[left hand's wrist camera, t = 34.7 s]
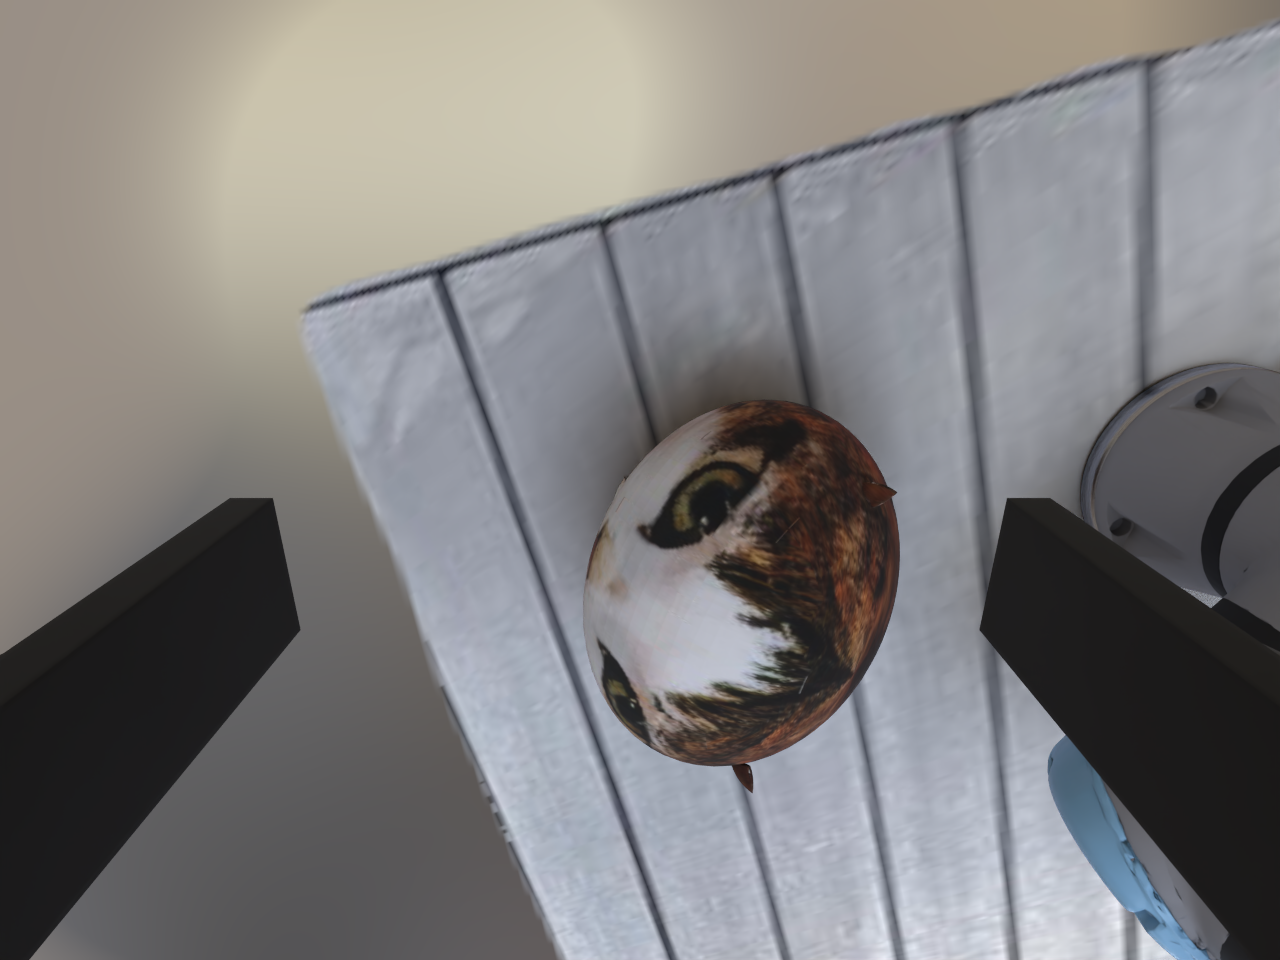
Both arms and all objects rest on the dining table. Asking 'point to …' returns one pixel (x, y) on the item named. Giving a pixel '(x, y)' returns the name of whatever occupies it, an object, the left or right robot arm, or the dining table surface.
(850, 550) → the cat face balloon
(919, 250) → the dining table surface
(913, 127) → the dining table surface
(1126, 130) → the dining table surface
